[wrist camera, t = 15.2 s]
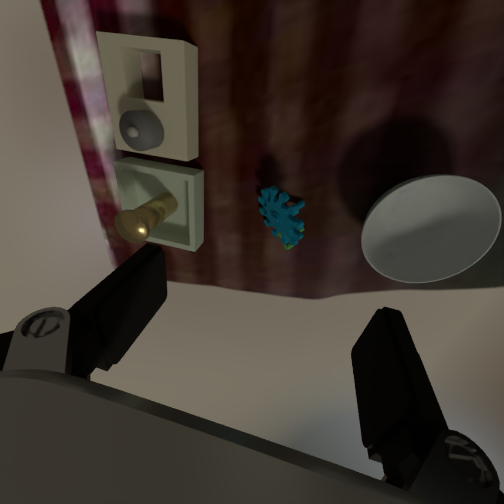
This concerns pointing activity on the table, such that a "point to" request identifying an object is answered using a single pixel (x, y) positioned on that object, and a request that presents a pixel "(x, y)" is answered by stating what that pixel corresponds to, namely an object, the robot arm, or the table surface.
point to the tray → (171, 181)
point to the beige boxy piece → (146, 110)
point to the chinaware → (430, 228)
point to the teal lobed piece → (281, 216)
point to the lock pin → (145, 217)
